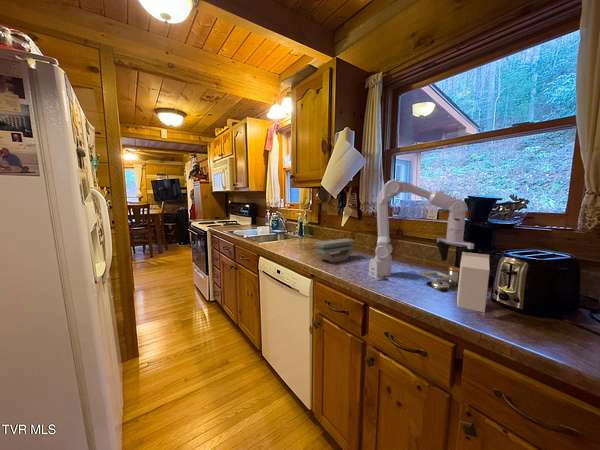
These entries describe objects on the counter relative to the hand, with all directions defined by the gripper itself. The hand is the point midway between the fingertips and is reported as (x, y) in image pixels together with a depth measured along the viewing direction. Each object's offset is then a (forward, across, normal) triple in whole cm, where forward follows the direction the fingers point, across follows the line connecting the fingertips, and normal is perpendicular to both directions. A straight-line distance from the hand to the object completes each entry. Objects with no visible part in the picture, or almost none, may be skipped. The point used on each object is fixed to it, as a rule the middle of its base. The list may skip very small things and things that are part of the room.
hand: (452, 262), depth 97 cm
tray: (+10, +8, -2) cm, 13 cm away
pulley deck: (+10, -2, +4) cm, 11 cm away
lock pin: (+9, -2, +1) cm, 9 cm away
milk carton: (+11, -16, +12) cm, 23 cm away
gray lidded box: (+11, +53, +26) cm, 60 cm away
